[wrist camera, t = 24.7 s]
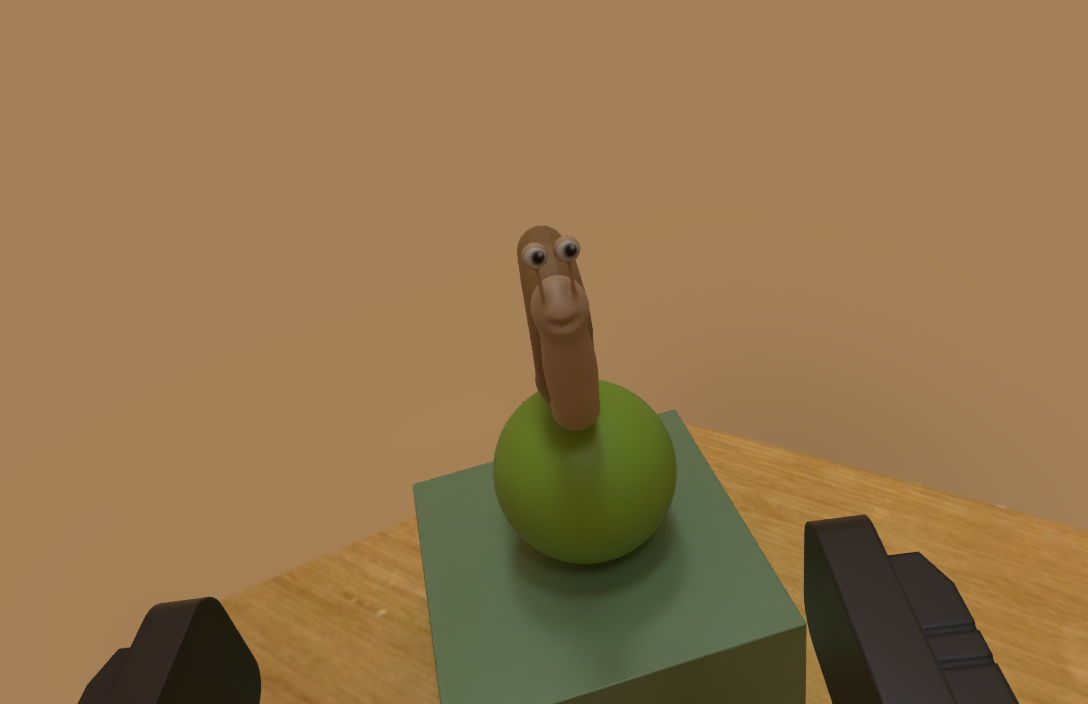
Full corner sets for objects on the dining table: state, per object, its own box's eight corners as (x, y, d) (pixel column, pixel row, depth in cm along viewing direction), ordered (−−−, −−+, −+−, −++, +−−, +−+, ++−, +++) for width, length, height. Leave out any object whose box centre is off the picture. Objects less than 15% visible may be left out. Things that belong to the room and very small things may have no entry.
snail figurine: (527, 651, 22) (414, 276, 16) (504, 493, 28) (413, 164, 21) (717, 607, 22) (685, 216, 16) (658, 458, 28) (615, 119, 21)
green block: (685, 504, 33) (675, 408, 30) (805, 727, 24) (807, 623, 22) (445, 575, 32) (412, 484, 29) (485, 832, 23) (444, 737, 21)
